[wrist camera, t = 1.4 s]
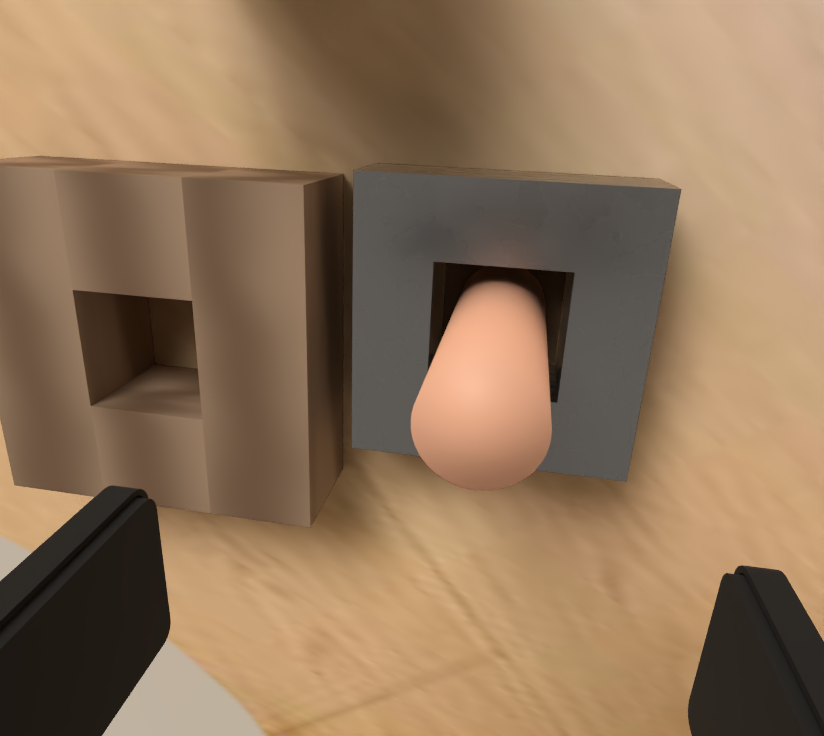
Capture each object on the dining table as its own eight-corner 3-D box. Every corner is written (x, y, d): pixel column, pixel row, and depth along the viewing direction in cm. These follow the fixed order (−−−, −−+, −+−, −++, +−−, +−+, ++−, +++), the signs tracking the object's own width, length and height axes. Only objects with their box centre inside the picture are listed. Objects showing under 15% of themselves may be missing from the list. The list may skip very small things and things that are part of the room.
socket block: (343, 173, 27) (303, 185, 22) (342, 468, 32) (310, 527, 27) (39, 156, 29) (-55, 162, 24) (85, 435, 34) (14, 485, 29)
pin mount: (659, 178, 25) (681, 189, 21) (614, 435, 29) (626, 481, 25) (378, 163, 26) (353, 170, 23) (373, 407, 30) (351, 447, 27)
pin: (550, 266, 27) (559, 371, 16) (539, 348, 28) (543, 498, 17) (462, 260, 27) (413, 356, 16) (457, 340, 28) (407, 481, 17)
